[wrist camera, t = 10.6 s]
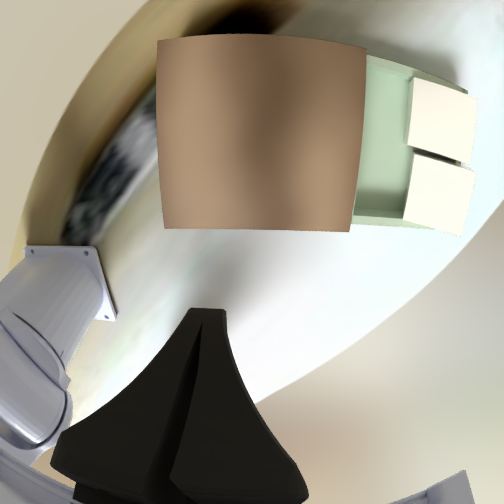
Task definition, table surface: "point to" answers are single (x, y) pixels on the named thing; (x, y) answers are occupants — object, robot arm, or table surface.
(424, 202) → the tile
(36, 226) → the table surface
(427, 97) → the tile
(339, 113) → the board
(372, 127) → the tray
